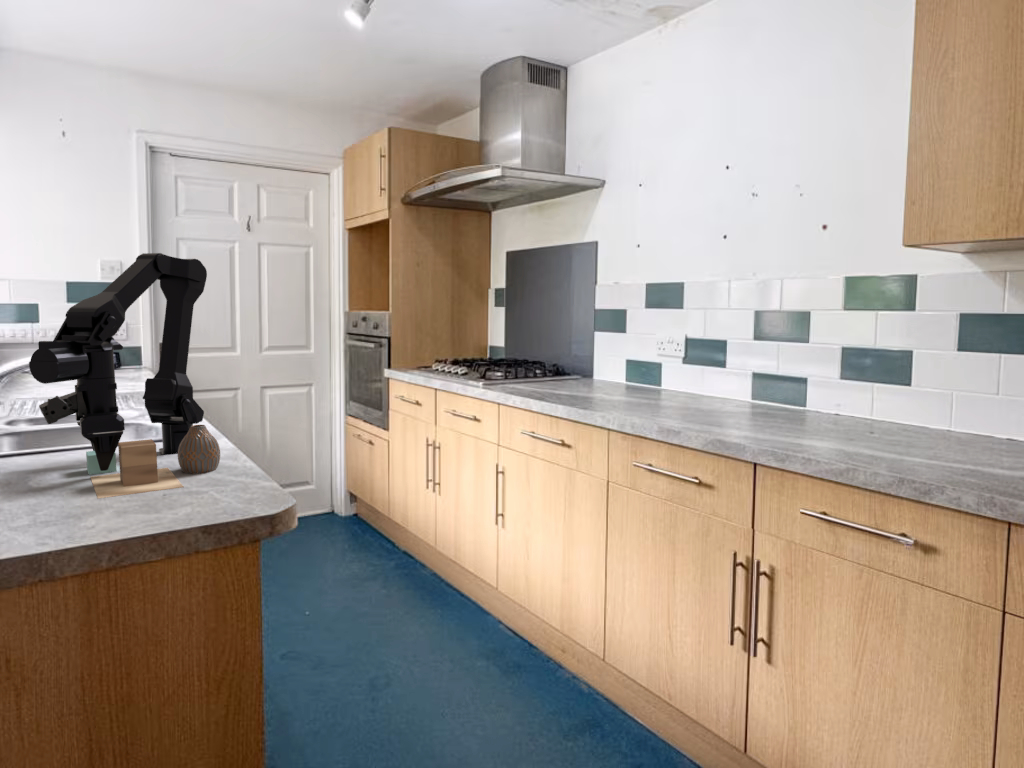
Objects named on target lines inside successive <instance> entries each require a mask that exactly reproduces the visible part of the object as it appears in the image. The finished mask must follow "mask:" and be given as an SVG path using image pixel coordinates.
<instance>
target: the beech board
mask: <svg viewBox="0 0 1024 768" xmlns="http://www.w3.org/2000/svg"><path fill="white" fill-rule="evenodd" d="M157 471H158V482H157V483H149V484H141V485H133V486H125V487H124V486H123V484H122V482H121V480H120V472H119V473H111V474H110V473H109V474H103V475H102V474H101V475H93V476H90V480H91V482H92V485H93V488H94V491H95V492H94V493H95V494H96V498H97V500H98V499H105V498H112V497H120V496H126V495H127V496H129V495H134V494H135V495H137V494H143V493H149V492H151V493H152V492H158V491H165V490H167V491H168V490H173V489H180V488H181V489H182V488H184V487H185V485H183V484H182V483H181V481H180V480H179V479H178V478H177V477H176V476H175V474H174V473H173V472H172V471H171V469H170V468H169V467H161V468H157Z"/></svg>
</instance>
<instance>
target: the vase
mask: <svg viewBox="0 0 1024 768" xmlns="http://www.w3.org/2000/svg"><path fill="white" fill-rule="evenodd" d="M220 460H221V448H220V444H219V442H218V440H217V439H216V437H215V436H214V435H213V434H212V433H211V432H210V431H209V430H208V427H206V425H205V424H193V425H192V426H190V429H189V431H188V433H187V434H186V435H185V437H184V438H183V439H182V441H181V443H180V445H179V448H178V454H177V461H178V465H179V467H180V470H181V471H182V472H183V473H185V474H192V475H193V474H195V475H196V474H205V473H210V472H214V471H216V470H217V468H218V467H219V465H220Z"/></svg>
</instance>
